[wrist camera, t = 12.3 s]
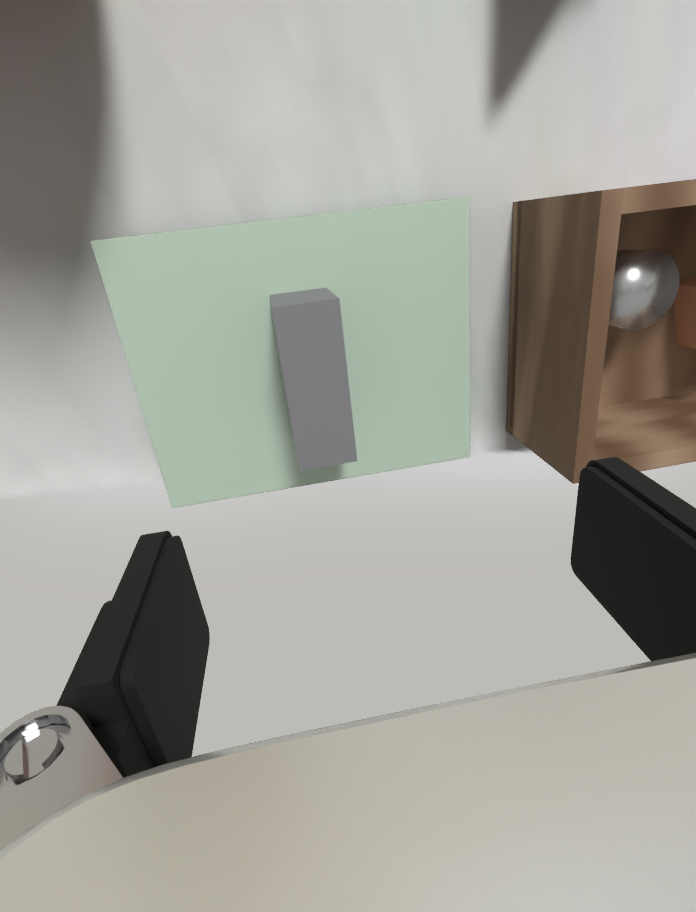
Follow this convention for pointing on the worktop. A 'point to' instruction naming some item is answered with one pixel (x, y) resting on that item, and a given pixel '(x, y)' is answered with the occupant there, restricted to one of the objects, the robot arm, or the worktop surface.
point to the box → (598, 331)
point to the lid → (297, 345)
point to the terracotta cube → (686, 312)
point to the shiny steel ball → (642, 288)
